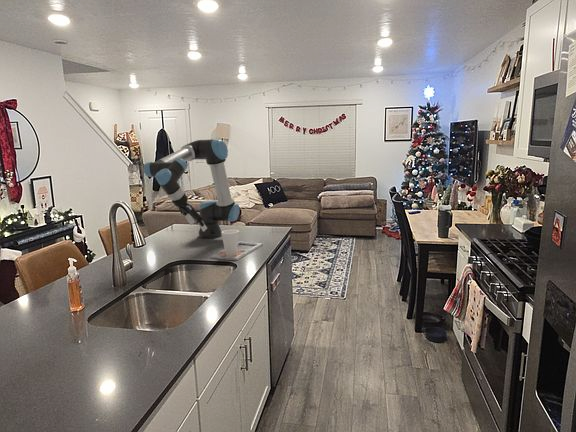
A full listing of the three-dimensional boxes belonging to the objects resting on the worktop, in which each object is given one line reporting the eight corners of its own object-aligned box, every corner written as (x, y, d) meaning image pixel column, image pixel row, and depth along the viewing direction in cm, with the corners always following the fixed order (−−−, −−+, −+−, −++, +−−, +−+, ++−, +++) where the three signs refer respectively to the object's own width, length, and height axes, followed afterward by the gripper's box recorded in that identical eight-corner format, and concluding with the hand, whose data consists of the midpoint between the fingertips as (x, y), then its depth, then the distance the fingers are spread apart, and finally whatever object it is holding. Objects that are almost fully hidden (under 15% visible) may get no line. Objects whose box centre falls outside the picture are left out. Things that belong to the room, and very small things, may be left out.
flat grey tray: (238, 243, 237) (238, 241, 236) (262, 245, 231) (262, 243, 231) (211, 257, 209) (210, 255, 208) (237, 260, 203) (236, 258, 202)
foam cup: (219, 256, 211) (218, 233, 208) (228, 251, 219) (226, 229, 216) (234, 257, 207) (233, 234, 205) (243, 252, 215) (241, 230, 213)
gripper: (161, 196, 203) (182, 225, 215) (183, 206, 185) (205, 237, 197) (172, 187, 206) (192, 216, 218) (195, 196, 188) (216, 227, 200)
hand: (198, 226), depth 208 cm, fingers open, 13 cm apart
